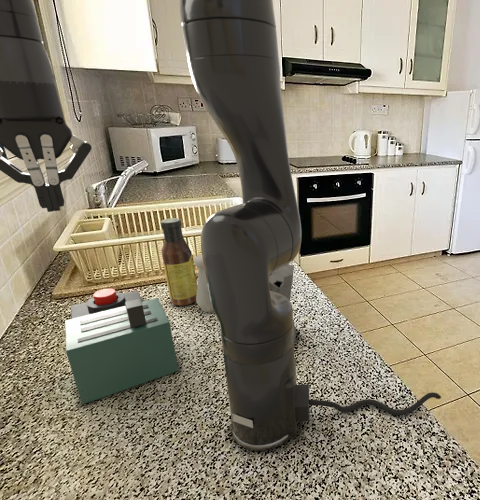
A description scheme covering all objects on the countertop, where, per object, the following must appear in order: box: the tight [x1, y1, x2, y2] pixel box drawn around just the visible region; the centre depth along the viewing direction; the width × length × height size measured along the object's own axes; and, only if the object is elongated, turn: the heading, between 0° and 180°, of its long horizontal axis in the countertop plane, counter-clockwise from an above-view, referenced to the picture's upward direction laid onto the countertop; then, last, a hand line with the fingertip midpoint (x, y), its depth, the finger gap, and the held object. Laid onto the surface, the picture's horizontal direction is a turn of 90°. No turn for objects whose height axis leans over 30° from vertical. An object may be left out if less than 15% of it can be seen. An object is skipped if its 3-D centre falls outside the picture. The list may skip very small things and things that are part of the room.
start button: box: [93, 288, 117, 305], centre depth 80 cm, size 4×4×2 cm
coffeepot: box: [269, 263, 297, 343], centre depth 73 cm, size 15×9×18 cm, turn 26°
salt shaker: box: [194, 253, 214, 313], centre depth 83 cm, size 6×6×13 cm
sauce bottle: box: [160, 217, 198, 307], centre depth 85 cm, size 6×6×20 cm
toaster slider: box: [125, 299, 146, 328], centre depth 60 cm, size 2×3×4 cm
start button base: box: [70, 290, 143, 319], centre depth 81 cm, size 13×10×4 cm
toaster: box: [64, 297, 179, 405], centre depth 63 cm, size 14×10×10 cm
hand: (54, 210), depth 54 cm, fingers closed
